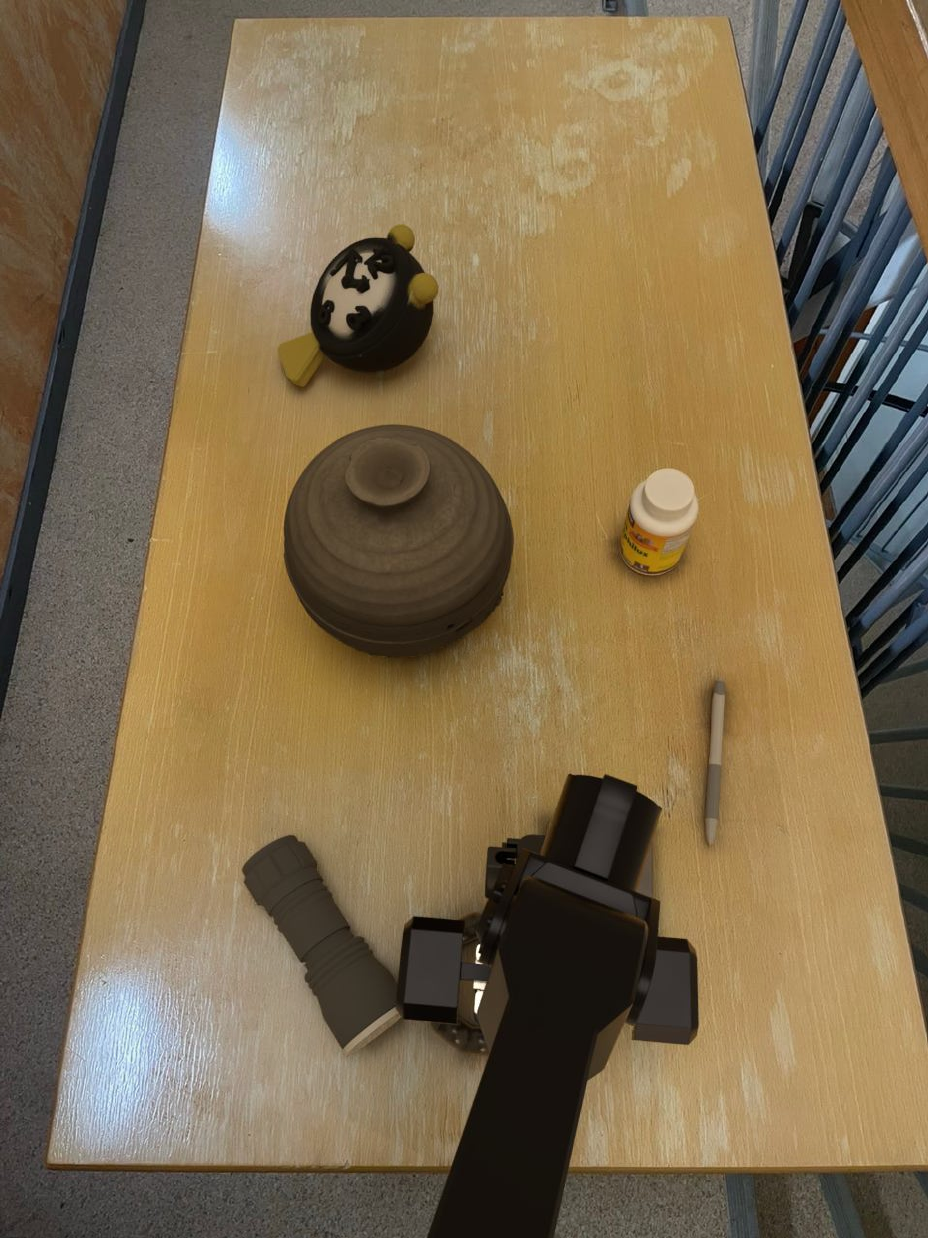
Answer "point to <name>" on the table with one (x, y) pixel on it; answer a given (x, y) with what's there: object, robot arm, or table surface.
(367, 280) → the alarm clock
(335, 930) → the flashlight
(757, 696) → the table surface
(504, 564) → the pot
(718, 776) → the pen
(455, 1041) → the studded brown bangle
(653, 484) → the supplement bottle
